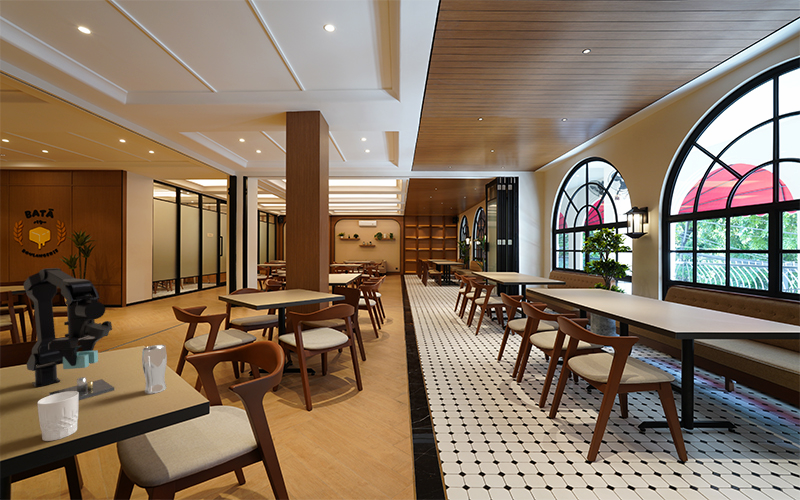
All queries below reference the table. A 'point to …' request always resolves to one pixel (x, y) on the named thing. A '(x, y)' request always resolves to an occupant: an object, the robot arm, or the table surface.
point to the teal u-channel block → (82, 359)
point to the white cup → (58, 415)
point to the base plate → (87, 388)
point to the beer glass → (154, 368)
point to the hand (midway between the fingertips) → (80, 362)
